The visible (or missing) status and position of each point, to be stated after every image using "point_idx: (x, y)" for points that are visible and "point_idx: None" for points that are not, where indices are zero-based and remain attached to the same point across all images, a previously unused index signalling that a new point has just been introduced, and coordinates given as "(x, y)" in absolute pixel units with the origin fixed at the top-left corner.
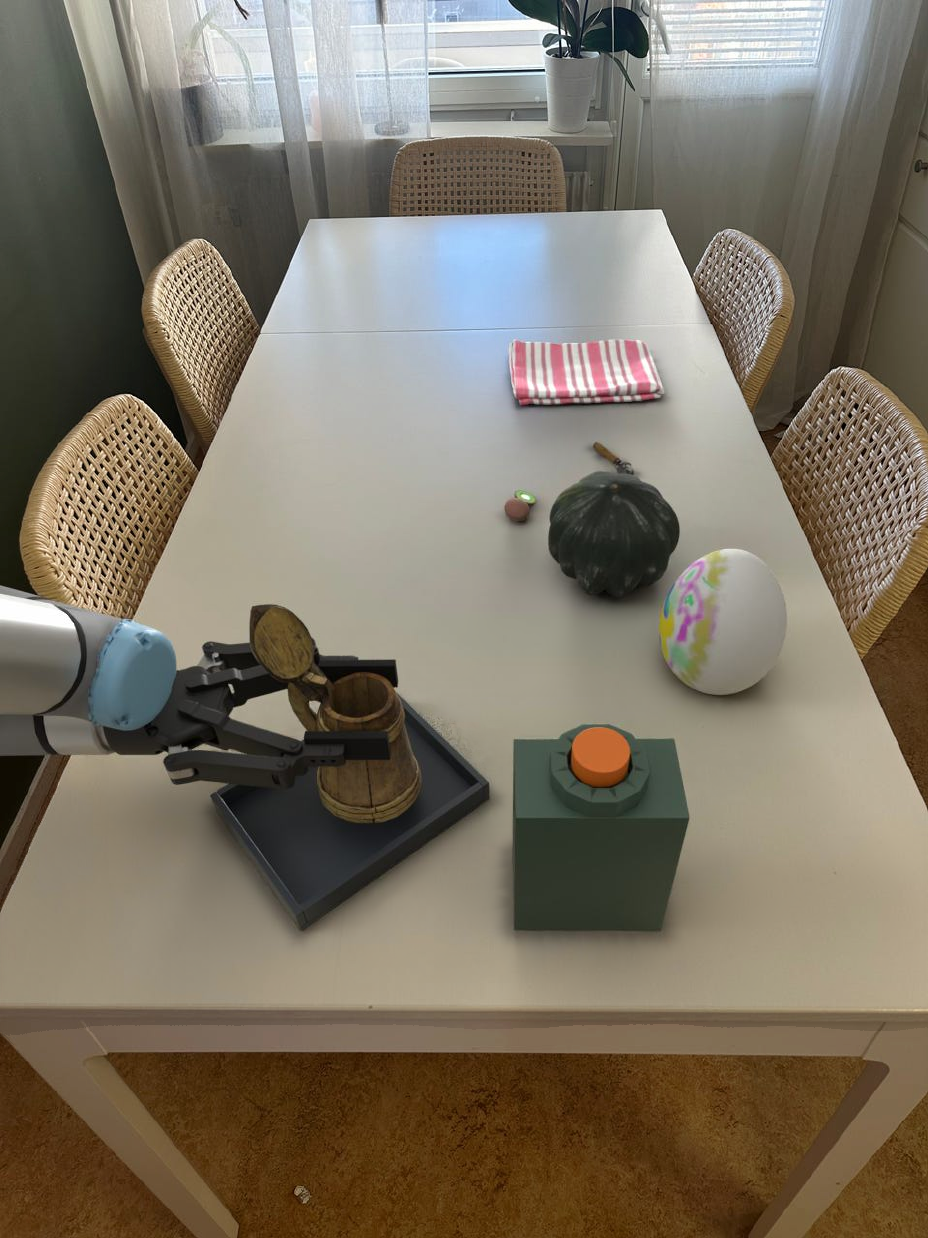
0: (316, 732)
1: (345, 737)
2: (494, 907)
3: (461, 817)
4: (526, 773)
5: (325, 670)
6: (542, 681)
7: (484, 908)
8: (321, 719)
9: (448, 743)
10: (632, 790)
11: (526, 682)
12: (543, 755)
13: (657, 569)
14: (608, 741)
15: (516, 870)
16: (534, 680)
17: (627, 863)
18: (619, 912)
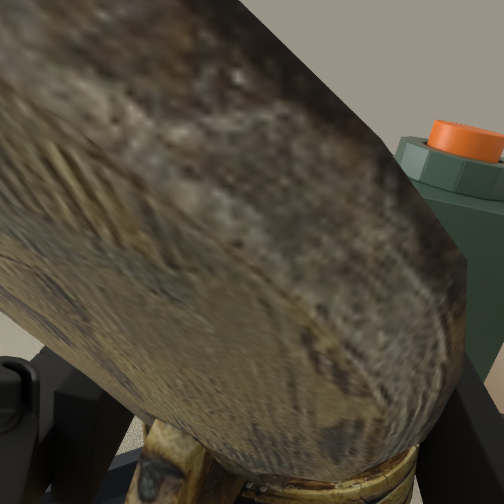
0: (493, 455)
1: (478, 379)
2: (413, 486)
3: None
4: (475, 204)
5: (108, 401)
6: (35, 339)
7: (418, 499)
8: (343, 483)
9: (136, 449)
10: None
11: (23, 353)
12: (436, 190)
13: None
14: (456, 124)
15: (501, 344)
16: (26, 345)
17: None
18: None
